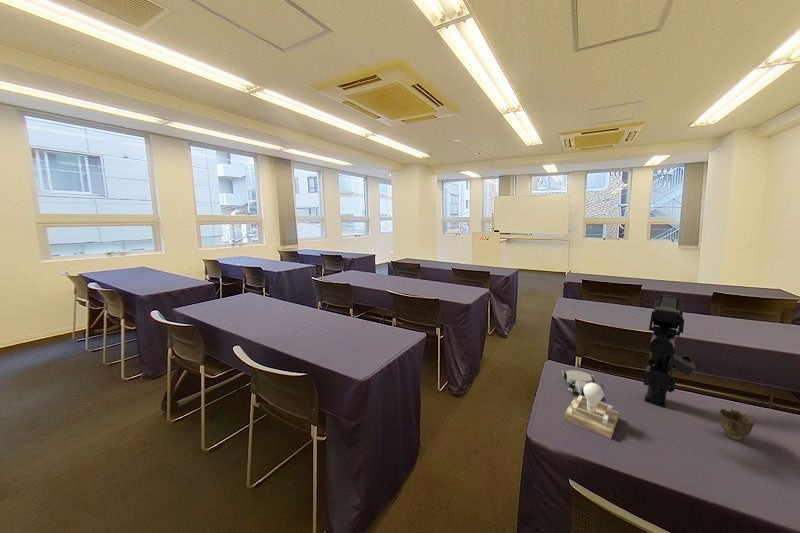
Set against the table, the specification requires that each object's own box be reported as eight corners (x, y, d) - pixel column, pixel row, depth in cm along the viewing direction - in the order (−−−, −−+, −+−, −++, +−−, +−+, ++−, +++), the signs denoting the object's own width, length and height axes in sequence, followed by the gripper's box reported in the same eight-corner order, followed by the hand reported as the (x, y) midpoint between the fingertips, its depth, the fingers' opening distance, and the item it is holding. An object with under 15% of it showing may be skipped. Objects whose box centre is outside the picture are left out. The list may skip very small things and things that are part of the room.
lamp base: (574, 402, 118) (575, 390, 117) (618, 418, 109) (619, 405, 108) (563, 420, 108) (565, 407, 107) (610, 439, 98) (612, 425, 98)
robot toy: (601, 402, 120) (592, 381, 133) (602, 392, 119) (593, 371, 132) (566, 396, 124) (560, 376, 138) (567, 386, 123) (561, 367, 137)
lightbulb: (585, 405, 112) (588, 377, 111) (604, 413, 108) (607, 384, 106) (578, 411, 109) (581, 383, 107) (597, 420, 104) (600, 390, 102)
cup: (739, 432, 101) (744, 411, 100) (756, 448, 94) (761, 425, 93) (711, 427, 104) (715, 406, 102) (725, 442, 97) (729, 420, 95)
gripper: (696, 363, 89) (688, 411, 92) (695, 344, 103) (688, 387, 105) (647, 352, 97) (641, 397, 99) (652, 336, 110) (647, 375, 113)
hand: (656, 389), depth 104 cm, fingers open, 9 cm apart
